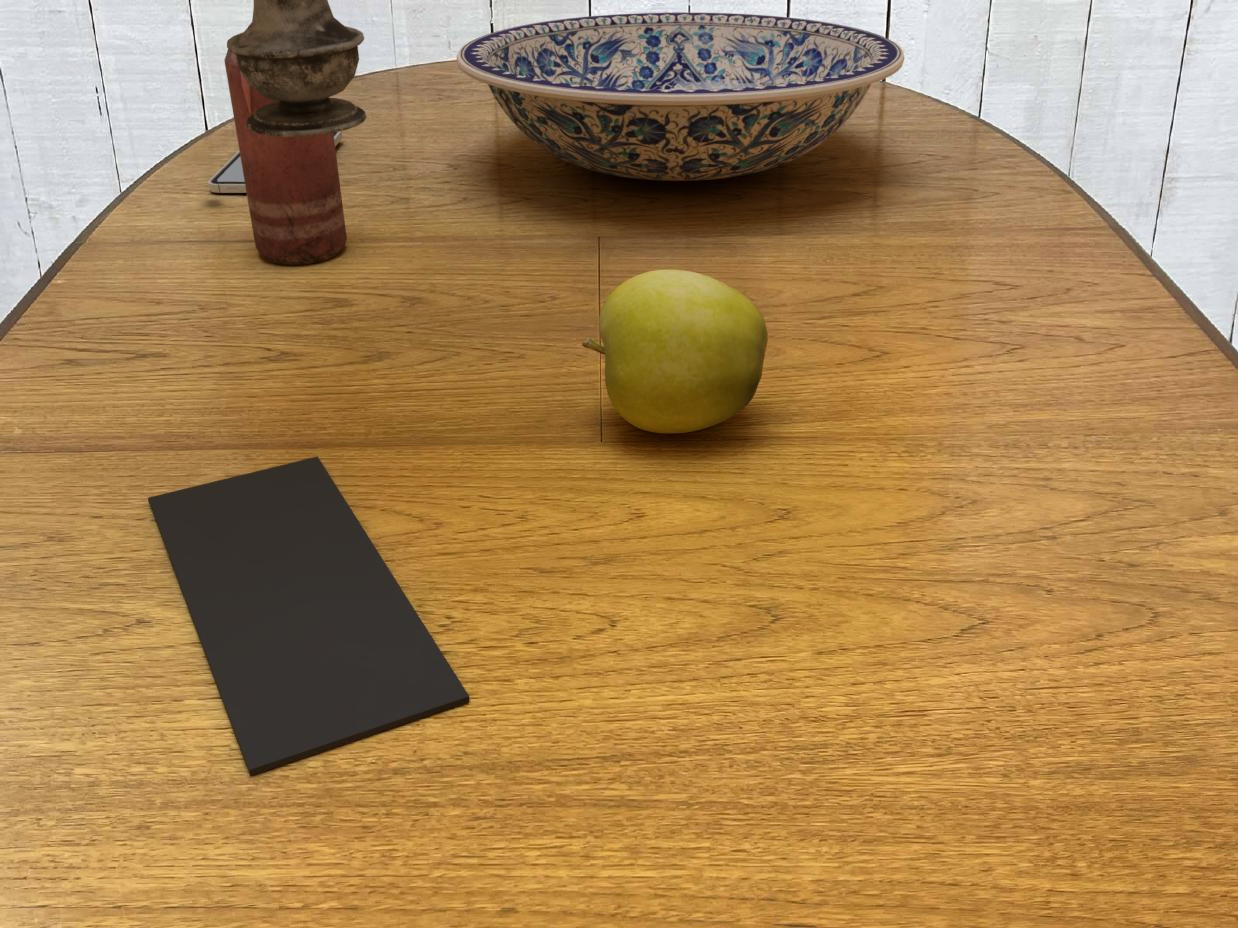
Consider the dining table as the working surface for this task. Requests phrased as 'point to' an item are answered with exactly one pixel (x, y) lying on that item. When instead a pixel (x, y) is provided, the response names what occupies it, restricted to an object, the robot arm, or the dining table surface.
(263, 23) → the salt shaker
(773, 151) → the ceramic bowl
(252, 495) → the black mat
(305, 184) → the can
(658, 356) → the apple
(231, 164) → the smartphone
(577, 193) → the dining table surface
